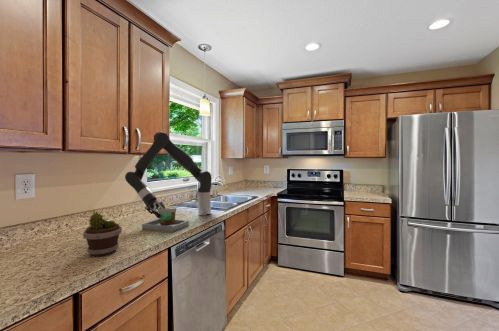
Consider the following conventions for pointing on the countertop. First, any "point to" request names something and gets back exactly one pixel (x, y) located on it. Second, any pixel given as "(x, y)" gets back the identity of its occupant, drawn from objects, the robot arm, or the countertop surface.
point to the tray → (166, 228)
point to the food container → (167, 216)
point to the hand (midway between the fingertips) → (162, 216)
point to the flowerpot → (102, 235)
